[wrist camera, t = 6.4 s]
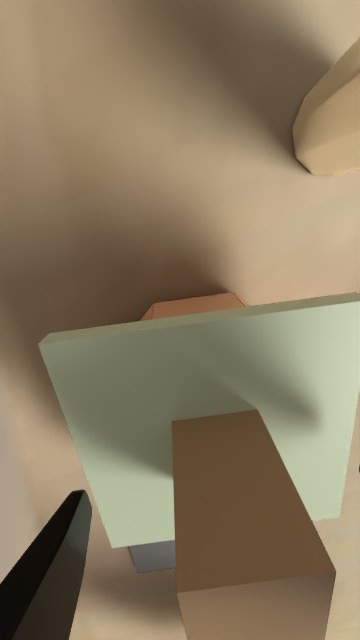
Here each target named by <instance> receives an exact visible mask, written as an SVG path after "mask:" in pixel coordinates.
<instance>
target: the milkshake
mask: <svg viewBox="0 0 360 640" xmlns="http://www.w3.org/2000/svg"><path fill="white" fill-rule="evenodd" d="M292 134H293V141H294V148H295V156H296V158H297V159H298V160H299V161H300V162H301V163H302V164H303V165H304V166H305V167H306V168H307V169H308V170H309V171H310V172H311V173H312V174H313V175H341V174H349V173H356V172H360V37H359V38H358V39H357V40H356V41H355V42H354V43H353V44H352V46H351V47H350V48H349V49H348V50H347V51H346V52H345V53H344V54H343V55H342V56H341V58H340V59H339V60H338V61H337V62H336V63H335V64H334V65H333V66H332V67H331V69H330V70H329V71H328V72H327V73H326V74H325V75H324V76H323V77H322V78H321V79H320V81H319V82H318V83H317V84H316V85H315V86H314V87H313V88H312V89H311V90H310V92H309V93H308V94H307V95H306V96H305V97H304V99H303V102H302V105H301V107H300V110H299V112H298V115H297V117H296V120H295V122H294V125H293V127H292Z"/></svg>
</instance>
